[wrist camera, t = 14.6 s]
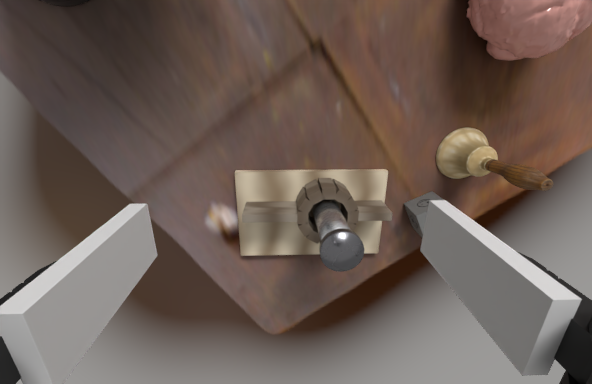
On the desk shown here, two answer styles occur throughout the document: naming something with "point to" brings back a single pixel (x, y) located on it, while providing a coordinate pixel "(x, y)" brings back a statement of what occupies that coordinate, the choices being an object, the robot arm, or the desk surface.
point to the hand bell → (483, 161)
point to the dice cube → (419, 210)
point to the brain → (528, 25)
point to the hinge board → (288, 191)
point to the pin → (336, 237)
